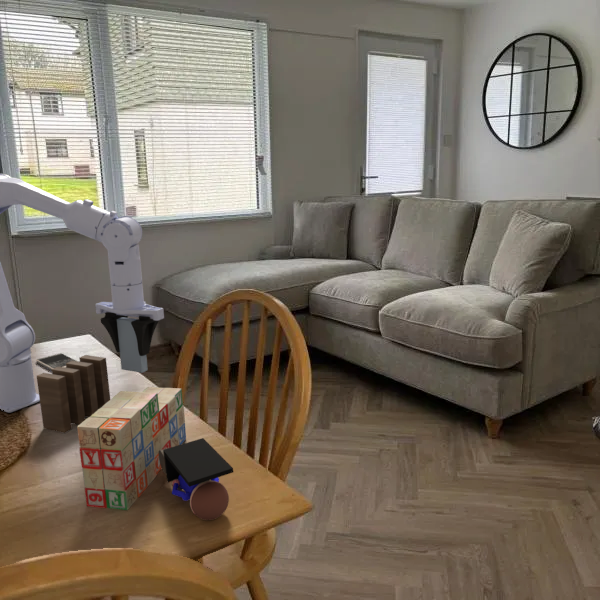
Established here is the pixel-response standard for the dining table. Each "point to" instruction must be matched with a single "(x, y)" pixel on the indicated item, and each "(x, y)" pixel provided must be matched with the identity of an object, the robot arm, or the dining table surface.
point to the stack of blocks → (128, 444)
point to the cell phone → (54, 361)
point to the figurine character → (197, 476)
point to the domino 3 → (86, 385)
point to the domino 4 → (99, 378)
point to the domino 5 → (129, 347)
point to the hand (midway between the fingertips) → (132, 352)
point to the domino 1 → (54, 402)
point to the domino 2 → (73, 393)
